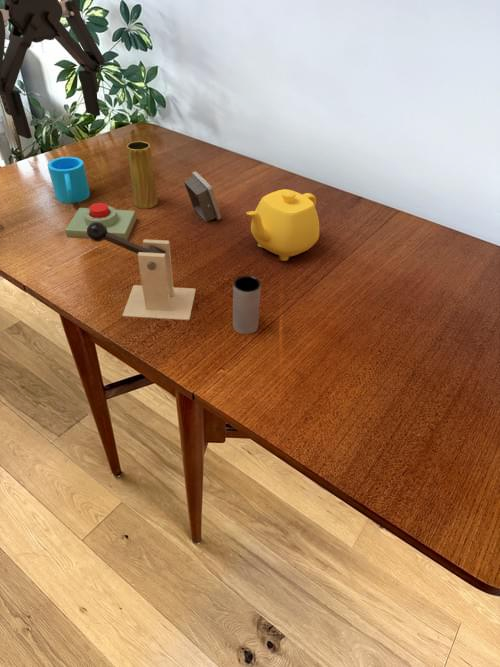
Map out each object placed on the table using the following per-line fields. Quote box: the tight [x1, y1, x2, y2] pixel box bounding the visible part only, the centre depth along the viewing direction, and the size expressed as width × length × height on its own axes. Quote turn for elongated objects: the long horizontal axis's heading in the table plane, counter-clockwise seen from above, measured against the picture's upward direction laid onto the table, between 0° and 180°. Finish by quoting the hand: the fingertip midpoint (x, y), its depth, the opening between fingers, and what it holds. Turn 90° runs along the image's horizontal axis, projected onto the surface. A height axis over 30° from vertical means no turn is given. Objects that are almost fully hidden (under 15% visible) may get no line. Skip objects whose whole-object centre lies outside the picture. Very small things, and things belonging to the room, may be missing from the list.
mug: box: [47, 156, 91, 204], centre depth 112 cm, size 12×8×8 cm
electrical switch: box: [183, 170, 222, 223], centre depth 109 cm, size 9×5×9 cm, turn 29°
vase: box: [126, 140, 159, 210], centre depth 110 cm, size 6×6×14 cm
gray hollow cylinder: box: [232, 274, 262, 335], centre depth 79 cm, size 4×4×10 cm
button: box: [88, 202, 109, 218], centre depth 102 cm, size 4×4×2 cm
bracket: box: [121, 238, 197, 321], centre depth 82 cm, size 12×9×13 cm
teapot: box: [245, 188, 320, 262], centre depth 98 cm, size 14×20×13 cm
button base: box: [64, 205, 137, 240], centre depth 104 cm, size 13×10×4 cm
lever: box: [87, 222, 166, 255], centre depth 77 cm, size 13×3×3 cm, turn 88°
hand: (61, 124), depth 76 cm, fingers open, 13 cm apart
